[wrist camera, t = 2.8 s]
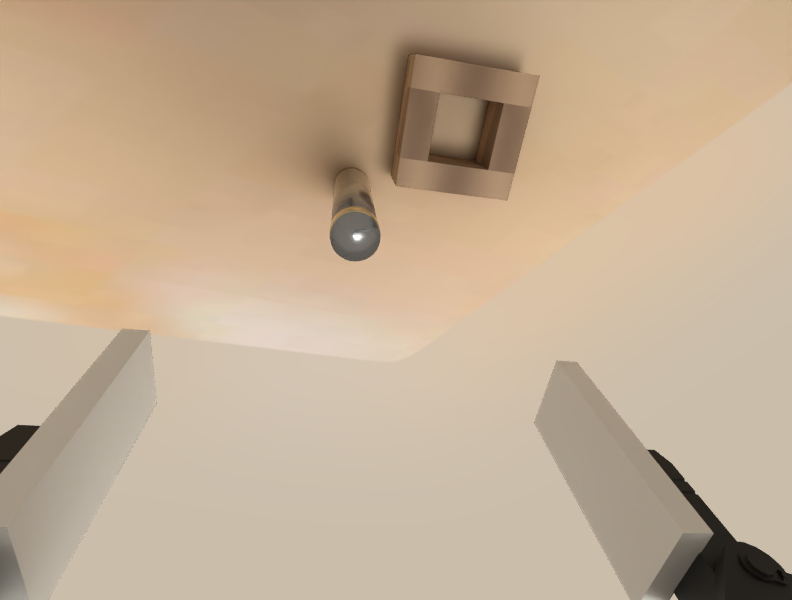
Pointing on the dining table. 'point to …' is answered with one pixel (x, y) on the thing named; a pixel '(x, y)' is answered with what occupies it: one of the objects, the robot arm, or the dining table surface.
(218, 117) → the dining table surface
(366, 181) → the metal cylinder
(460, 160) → the square wooden frame
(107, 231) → the dining table surface
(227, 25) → the dining table surface
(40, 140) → the dining table surface
